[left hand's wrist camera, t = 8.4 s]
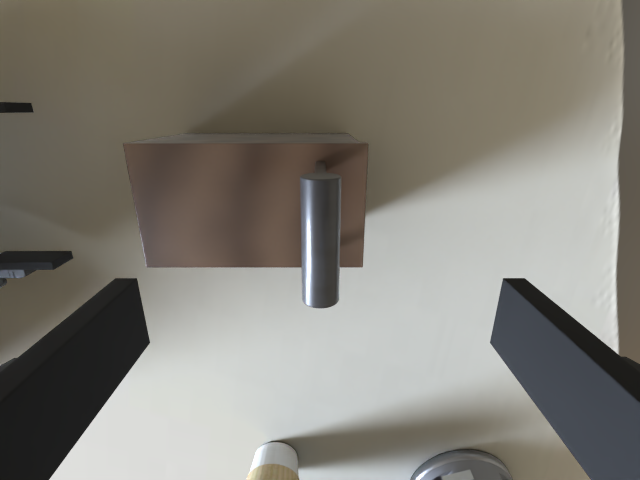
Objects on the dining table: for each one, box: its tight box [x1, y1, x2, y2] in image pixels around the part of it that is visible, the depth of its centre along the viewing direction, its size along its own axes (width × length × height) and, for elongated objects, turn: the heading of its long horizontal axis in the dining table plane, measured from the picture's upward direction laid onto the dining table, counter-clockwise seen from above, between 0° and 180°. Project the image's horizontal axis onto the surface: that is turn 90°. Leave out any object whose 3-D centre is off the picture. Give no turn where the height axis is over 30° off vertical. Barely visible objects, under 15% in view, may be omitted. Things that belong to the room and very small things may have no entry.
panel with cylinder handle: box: [123, 142, 368, 308], centre depth 22 cm, size 17×9×9 cm, turn 90°
